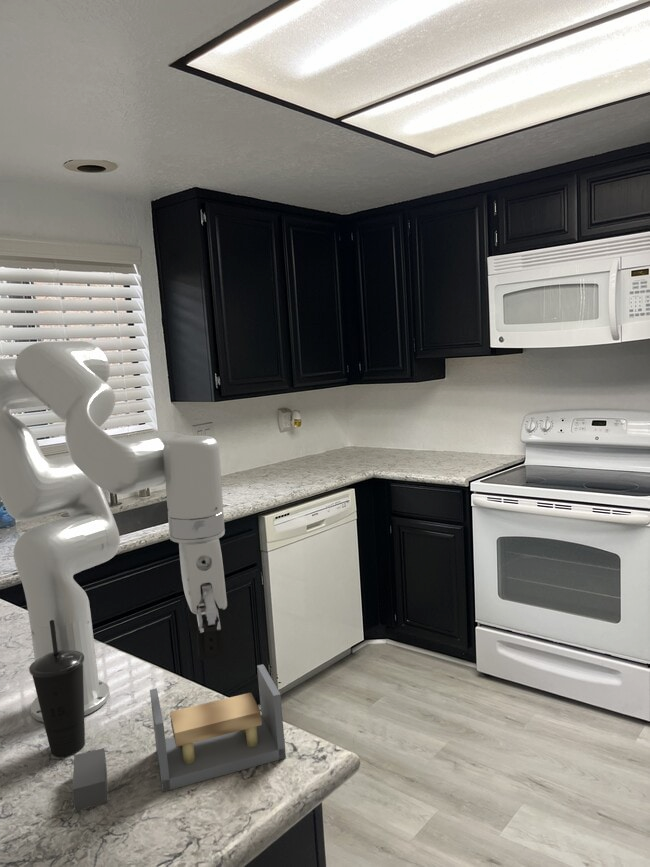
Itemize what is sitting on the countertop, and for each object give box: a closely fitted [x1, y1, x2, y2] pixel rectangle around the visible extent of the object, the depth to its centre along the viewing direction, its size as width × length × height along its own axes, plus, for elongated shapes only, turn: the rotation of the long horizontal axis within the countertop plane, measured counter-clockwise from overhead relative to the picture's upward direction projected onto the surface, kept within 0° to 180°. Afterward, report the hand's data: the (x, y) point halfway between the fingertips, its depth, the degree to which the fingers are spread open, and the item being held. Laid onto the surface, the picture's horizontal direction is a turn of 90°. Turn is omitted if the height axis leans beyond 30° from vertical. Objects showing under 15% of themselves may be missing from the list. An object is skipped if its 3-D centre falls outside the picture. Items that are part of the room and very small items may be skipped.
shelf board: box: [169, 692, 262, 747], centre depth 93 cm, size 12×6×2 cm, turn 109°
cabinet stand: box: [149, 663, 287, 793], centre depth 93 cm, size 10×17×10 cm, turn 109°
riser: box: [71, 747, 108, 812], centre depth 88 cm, size 8×4×3 cm, turn 19°
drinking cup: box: [28, 620, 86, 758], centre depth 97 cm, size 8×8×20 cm
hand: (205, 642), depth 92 cm, fingers open, 9 cm apart
